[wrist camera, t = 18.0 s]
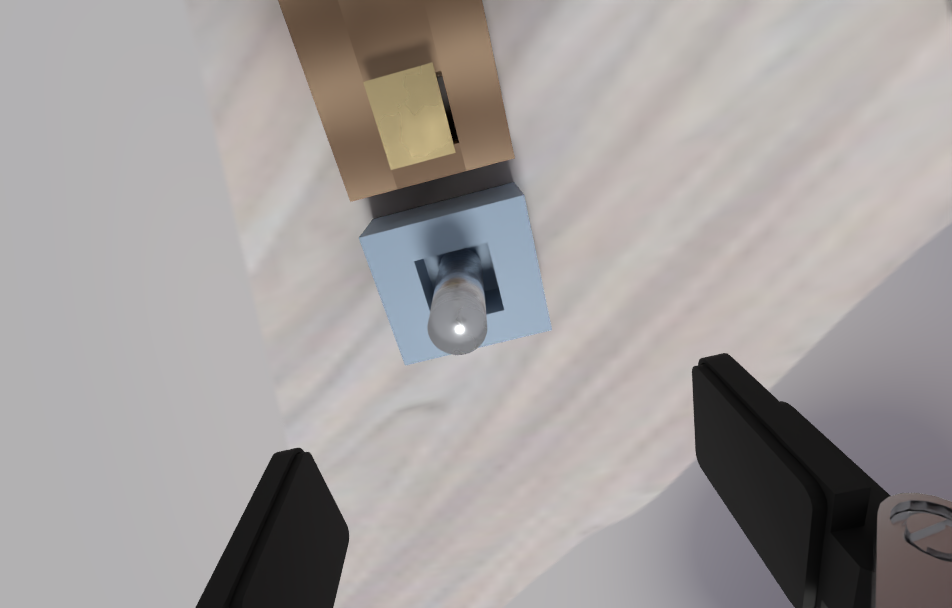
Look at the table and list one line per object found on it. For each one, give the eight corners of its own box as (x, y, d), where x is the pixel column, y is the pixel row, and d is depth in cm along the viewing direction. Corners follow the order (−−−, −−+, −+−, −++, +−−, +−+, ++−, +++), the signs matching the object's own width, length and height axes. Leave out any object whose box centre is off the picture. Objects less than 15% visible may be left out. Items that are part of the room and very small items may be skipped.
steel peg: (434, 252, 32) (420, 308, 22) (476, 242, 31) (479, 294, 22) (445, 292, 33) (436, 360, 24) (486, 282, 33) (493, 347, 23)
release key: (378, 86, 27) (363, 82, 23) (436, 69, 27) (432, 62, 23) (400, 160, 29) (390, 170, 25) (455, 146, 29) (455, 152, 24)
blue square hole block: (372, 219, 32) (358, 238, 27) (513, 182, 31) (524, 194, 26) (411, 331, 35) (405, 365, 30) (539, 300, 34) (552, 330, 30)
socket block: (245, -151, 24) (206, -198, 20) (430, -209, 23) (426, -270, 19) (363, 190, 31) (350, 201, 27) (507, 152, 30) (514, 158, 27)
